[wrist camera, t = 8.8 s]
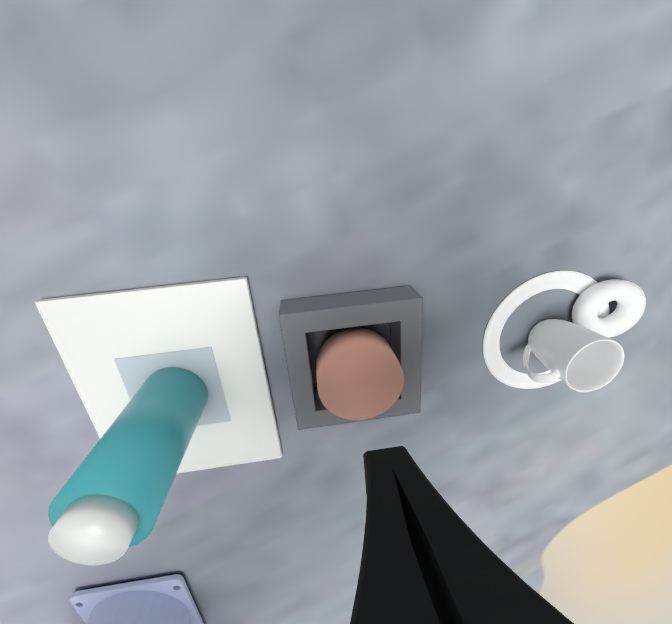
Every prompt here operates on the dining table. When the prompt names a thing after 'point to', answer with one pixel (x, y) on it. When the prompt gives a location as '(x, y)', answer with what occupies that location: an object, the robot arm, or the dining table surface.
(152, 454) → the marker
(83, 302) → the pad
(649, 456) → the dining table surface
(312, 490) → the dining table surface
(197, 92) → the dining table surface
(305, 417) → the housing
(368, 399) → the button
